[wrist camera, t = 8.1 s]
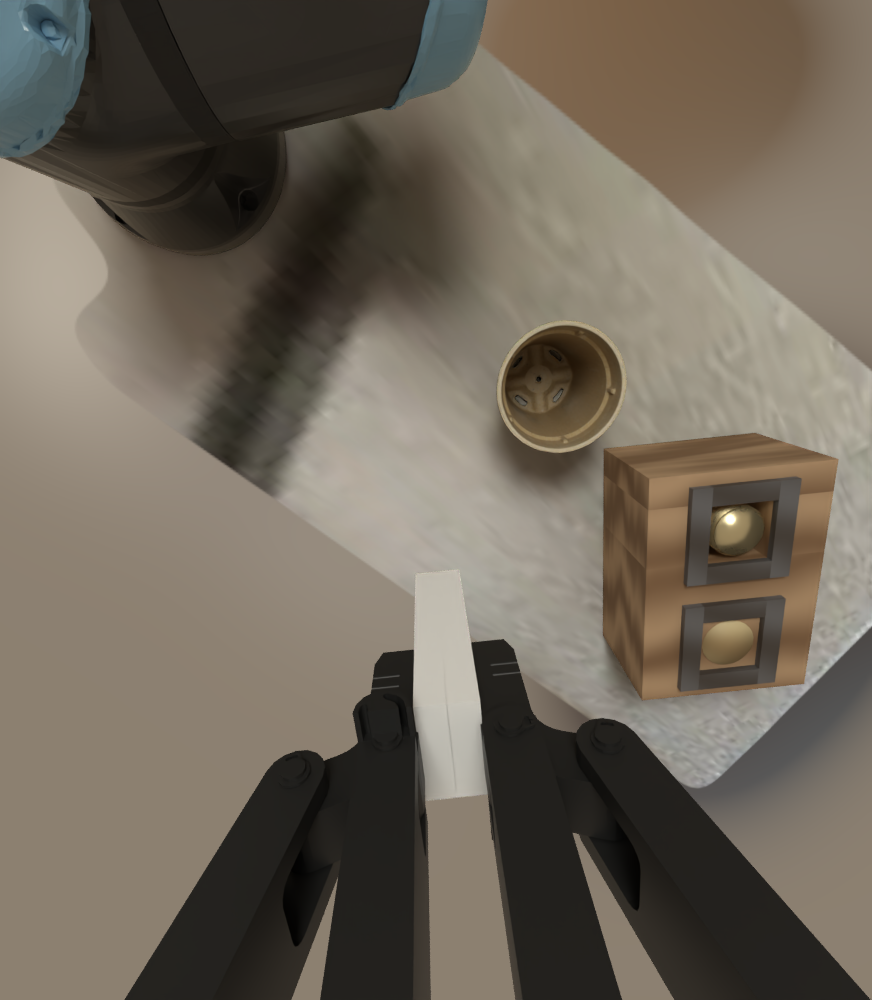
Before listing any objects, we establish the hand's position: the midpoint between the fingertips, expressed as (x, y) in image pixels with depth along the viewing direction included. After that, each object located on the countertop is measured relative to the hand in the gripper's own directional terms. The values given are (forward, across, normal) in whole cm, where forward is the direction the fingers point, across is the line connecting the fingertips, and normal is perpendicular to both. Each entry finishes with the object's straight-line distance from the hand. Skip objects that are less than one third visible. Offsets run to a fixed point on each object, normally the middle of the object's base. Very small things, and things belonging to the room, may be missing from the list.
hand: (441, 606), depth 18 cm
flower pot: (+31, +10, +4) cm, 32 cm away
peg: (+29, +23, -8) cm, 37 cm away
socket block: (+30, +23, -13) cm, 40 cm away
